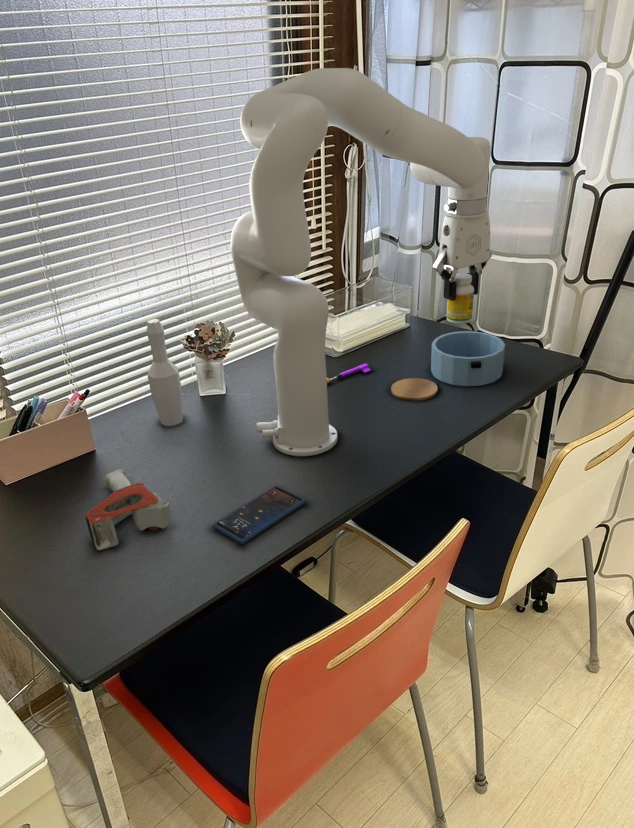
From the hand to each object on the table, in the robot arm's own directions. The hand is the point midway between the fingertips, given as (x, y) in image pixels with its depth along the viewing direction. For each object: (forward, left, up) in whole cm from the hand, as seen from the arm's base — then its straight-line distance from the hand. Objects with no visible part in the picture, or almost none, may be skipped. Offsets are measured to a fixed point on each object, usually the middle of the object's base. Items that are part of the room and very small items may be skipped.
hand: (460, 295), depth 149 cm
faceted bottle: (-62, -13, -19) cm, 66 cm away
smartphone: (-42, -50, -18) cm, 68 cm away
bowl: (+3, +2, -18) cm, 19 cm away
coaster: (-10, -6, -18) cm, 22 cm away
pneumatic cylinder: (-25, +2, -19) cm, 31 cm away
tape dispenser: (-64, -47, -19) cm, 82 cm away
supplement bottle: (0, 0, -6) cm, 6 cm away
